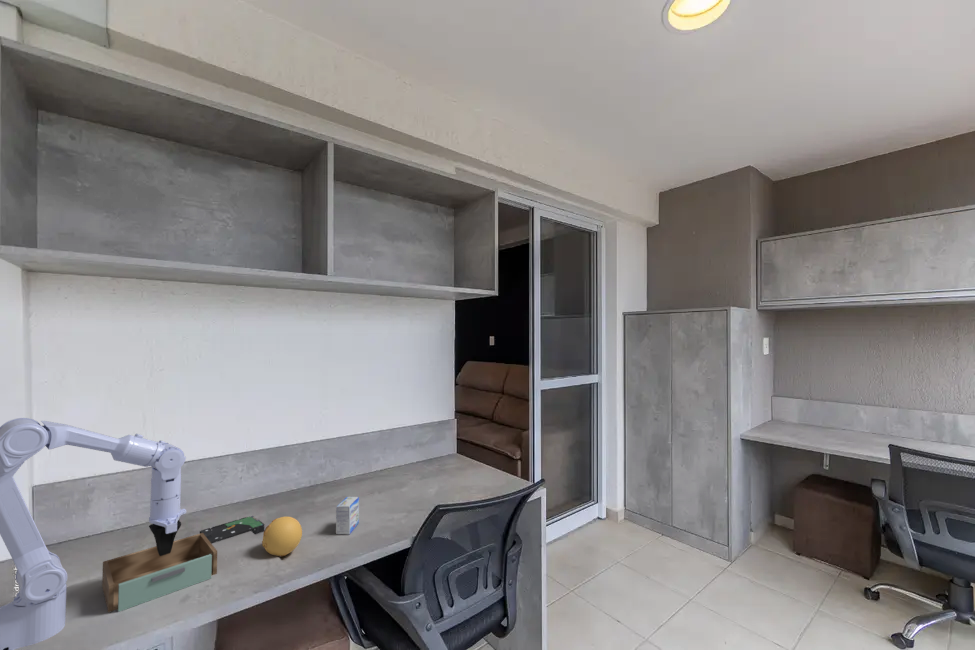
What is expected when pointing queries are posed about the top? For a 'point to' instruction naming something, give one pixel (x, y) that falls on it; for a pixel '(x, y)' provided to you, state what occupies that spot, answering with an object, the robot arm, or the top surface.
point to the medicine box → (347, 515)
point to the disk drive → (233, 529)
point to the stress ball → (282, 536)
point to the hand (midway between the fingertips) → (164, 553)
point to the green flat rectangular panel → (163, 582)
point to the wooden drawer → (152, 564)
